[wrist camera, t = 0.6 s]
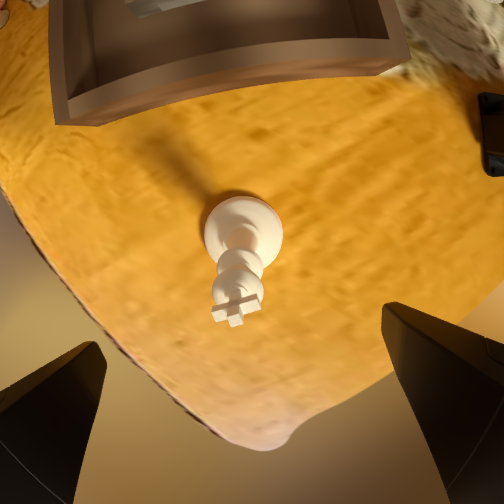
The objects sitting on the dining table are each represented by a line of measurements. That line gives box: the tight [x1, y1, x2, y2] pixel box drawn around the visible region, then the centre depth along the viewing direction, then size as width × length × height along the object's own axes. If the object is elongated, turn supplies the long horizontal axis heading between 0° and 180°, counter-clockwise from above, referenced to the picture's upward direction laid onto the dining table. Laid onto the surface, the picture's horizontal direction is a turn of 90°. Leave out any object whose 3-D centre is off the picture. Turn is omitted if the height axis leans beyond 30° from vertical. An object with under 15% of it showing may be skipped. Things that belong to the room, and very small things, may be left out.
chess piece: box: [204, 196, 283, 327], centre depth 15 cm, size 5×5×10 cm
